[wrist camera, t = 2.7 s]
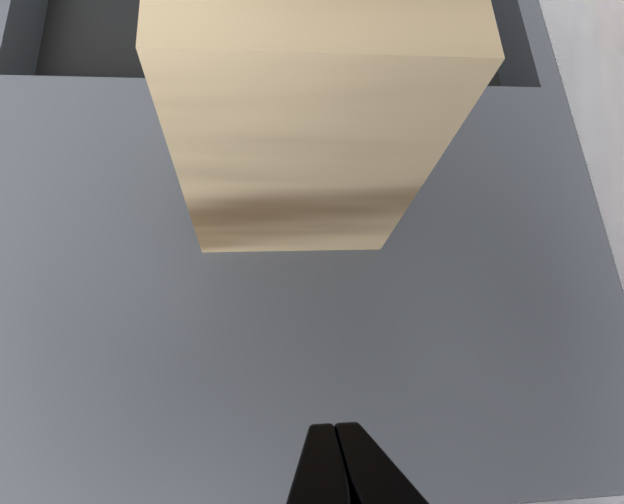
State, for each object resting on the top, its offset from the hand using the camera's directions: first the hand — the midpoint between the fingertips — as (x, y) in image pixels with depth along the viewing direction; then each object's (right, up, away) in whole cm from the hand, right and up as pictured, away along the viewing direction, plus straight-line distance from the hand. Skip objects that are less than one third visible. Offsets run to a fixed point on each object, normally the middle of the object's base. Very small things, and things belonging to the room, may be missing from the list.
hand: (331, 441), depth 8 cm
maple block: (-1, +6, +9) cm, 11 cm away
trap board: (-2, +5, +12) cm, 13 cm away
